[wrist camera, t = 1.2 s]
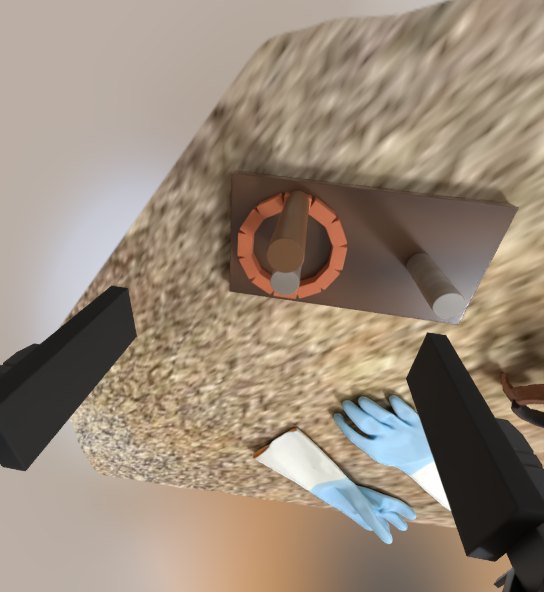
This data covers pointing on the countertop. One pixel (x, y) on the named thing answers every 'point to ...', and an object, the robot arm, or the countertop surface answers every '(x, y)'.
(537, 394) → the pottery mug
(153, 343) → the countertop surface
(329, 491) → the rubber gloves
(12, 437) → the robot arm
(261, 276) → the ring
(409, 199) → the rack
